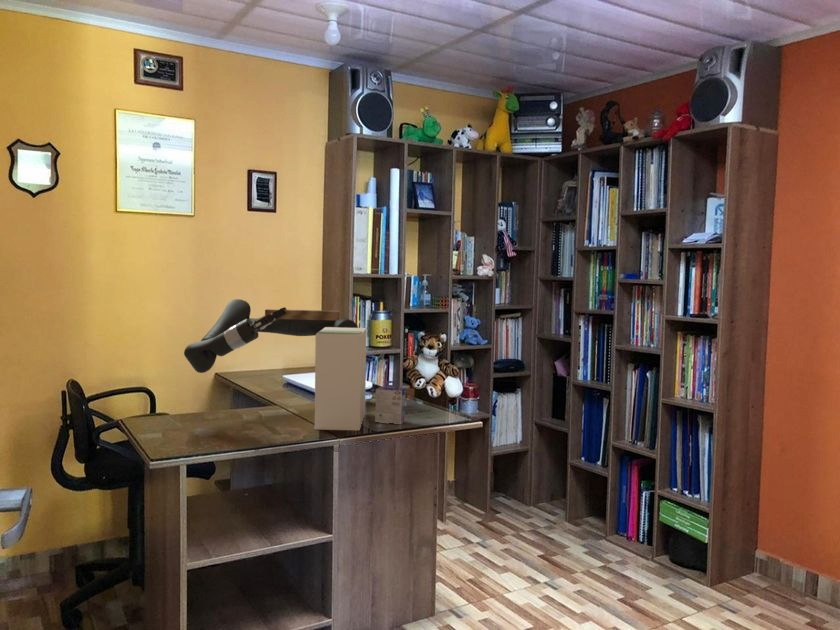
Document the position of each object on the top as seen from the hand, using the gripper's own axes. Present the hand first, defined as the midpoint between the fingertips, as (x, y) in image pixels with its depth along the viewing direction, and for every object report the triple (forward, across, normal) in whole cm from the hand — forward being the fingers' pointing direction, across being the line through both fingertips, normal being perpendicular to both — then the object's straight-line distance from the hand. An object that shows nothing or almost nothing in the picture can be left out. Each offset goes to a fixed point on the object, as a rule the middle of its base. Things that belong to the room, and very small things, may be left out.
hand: (285, 310), depth 236 cm
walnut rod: (+4, 0, +6) cm, 7 cm away
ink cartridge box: (+11, +7, +52) cm, 54 cm away
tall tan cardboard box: (-3, +6, +43) cm, 44 cm away
